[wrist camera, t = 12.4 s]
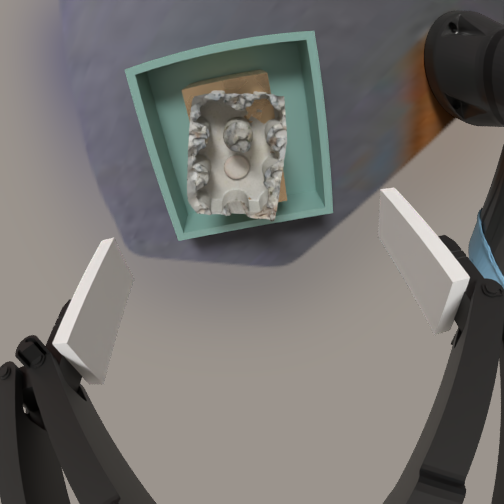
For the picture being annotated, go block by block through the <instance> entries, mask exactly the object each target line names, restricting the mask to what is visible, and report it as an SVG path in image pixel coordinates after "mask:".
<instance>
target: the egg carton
mask: <svg viewBox="0 0 504 504" xmlns="http://www.w3.org/2000/svg"><path fill="white" fill-rule="evenodd" d="M261 98H262V99H267V100H269V101H270V103H271V104H272V106H273V108H274V114H275V118H274V119H271V120H268V121H267V122H266V123H265V124H264V123H261V121H259V120H257V119H256V118H255V117H252V116H251V117H250V118H249V120H247V119H246V118H245V117H244V116H245V115H247V114H248V111H246V109H245V108H246V107H248V106H249V107H250V106H251V105H252V104H253V102H254V100H259V99H261ZM257 112H262V111H261V110H259V109H258V110H257ZM249 121H253V122H252V123H250V122H249ZM286 145H287V127H286V114H285V99H284V96H277V95H274V94H267V93H266V92H257V91H255V92H253V94H249V93H244V94H235V93H233V94H225V91H222V90H214V91H212V92H211V93H209V94H203V95H198V96H194V98H193V100H192V105H191V112H190V127H189V143H188V166H187V171H188V173H187V196H188V202H189V204H190V205H191V207H192V208H193V209H194V210H195V212H196V213H198V214H206V215H212V214H222V215H225V216H230V215H231V214H232V213H235V214H246V215H247V216H248V217H250V218H255V219H269V220H270V221H272V222H273V221H274V220H275V216H276V212H277V205H278V200H279V194H280V183H281V177H282V172H283V167H284V158H285V152H286ZM271 151H272V152H274V153H272V152H271ZM270 152H271V153H270ZM211 195H212V196H211ZM249 197H250V198H251V199H252V200H249V199H248V198H249Z"/></svg>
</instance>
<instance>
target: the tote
mask: <svg viewBox="0 0 504 504" xmlns="http://www.w3.org/2000/svg"><path fill="white" fill-rule="evenodd" d="M259 69H261V70H263V71H265V72H267V73H268V79H269V85H270V90H271V94H274V95H277V96H284V99H285V114H286V127H287V145H286V152H285V158H284V167H283V172H284V179H285V186H286V194H287V201H282V202H278V205H277V212H276V216H275V220H274V221H273V222H272V221H270V220H269V219H255V218H250V217H248V216H247V215H246V214H235V213H232V214H231V215H230V216H225V215H222V214H212V215H206V214H198V213H196V212H195V210H194V209H193V208H192V207H191V205H190V204H189V202H188V196H187V173H188V171H187V166H188V143H189V127H190V122H189V118H188V114H187V110H186V106H185V102H184V98H183V94H182V89H184V88H185V87H186V86H188V85H189V84H190V83H194V82H198V81H202V80H206V79H211V78H216V77H220V76H225V75H230V74H235V73H241V72H247V71H253V70H259ZM125 73H126V76H127V80H128V84H129V88H130V91H131V95H132V98H133V102H134V106H135V109H136V112H137V116H138V119H139V123H140V126H141V129H142V133H143V136H144V139H145V143H146V146H147V149H148V152H149V155H150V159H151V162H152V165H153V168H154V171H155V174H156V177H157V180H158V183H159V186H160V189H161V192H162V195H163V198H164V201H165V204H166V207H167V210H168V212H169V215H170V218H171V221H172V224H173V226H174V229H175V232H176V235H177V238H178V240H179V241H181V240H186V239H191V238H196V237H201V236H207V235H212V234H217V233H222V232H228V231H233V230H239V229H244V228H249V227H255V226H261V225H266V224H272V223H277V222H283V221H289V220H294V219H300V218H306V217H312V216H318V215H324V214H330V213H333V204H332V186H331V170H330V157H329V145H328V134H327V123H326V114H325V105H324V96H323V88H322V80H321V73H320V65H319V58H318V52H317V45H316V39H315V33H314V31H304V32H292V33H282V34H273V35H266V36H258V37H252V38H245V39H239V40H234V41H228V42H223V43H218V44H213V45H209V46H204V47H200V48H196V49H192V50H188V51H184V52H180V53H176V54H173V55H169V56H165V57H162V58H159V59H155V60H152V61H149V62H146V63H143V64H140V65H137V66H134V67H131V68H128V69H125Z"/></svg>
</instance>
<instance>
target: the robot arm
mask: <svg viewBox="0 0 504 504" xmlns="http://www.w3.org/2000/svg"><path fill="white" fill-rule="evenodd" d="M424 59H425V69H426V74H427V78H428V81H429V84H430V87H431V89H432V92H433V94H434V95H435V97H436V99H437V100H438V102H439V103H440V104H441V106H442V107H443V108H444V109H445V110H446V111H447V112H448V113H449V114H451V115H452V116H454V117H455V118H458V119H460V120H462V121H464V122H466V123H468V124H471V125H476V126H495V127H496V126H497V127H504V25H502V24H500V23H498V22H496V21H494V20H492V19H490V18H488V17H486V16H484V15H482V14H480V13H477V12H472V11H451V12H448V13H446V14H444V15H442V16H441V17H439V18H438V19H437V20H436V21H435V22H434V24H433V25H432V27H431V29H430V31H429V33H428V36H427V39H426V44H425V53H424ZM378 238H379V239H380V241H381V242H382V244H383V246H384V247H385V248H386V250H387V252H388V254H389V255H390V257H391V259H392V260H393V262H394V263H395V265H396V267H397V269H398V270H399V272H400V274H401V275H402V277H403V279H404V280H405V282H406V284H407V286H408V287H409V289H410V291H411V293H412V294H413V296H414V298H415V299H416V301H417V303H418V305H419V307H420V309H421V311H422V313H423V314H424V316H425V318H426V320H427V322H428V324H429V326H430V328H431V330H432V332H433V334H434V335H436V334H439V333H443V332H446V331H449V330H450V329H451V326H452V324H453V322H454V320H455V322H456V323H457V325H458V330H457V332H456V334H455V336H454V338H453V340H452V343H451V344H452V345H453V346H452V350H451V354H450V357H449V360H448V364H447V367H446V370H445V373H444V376H443V380H442V382H441V386H440V388H439V391H438V394H437V396H436V399H435V402H434V404H433V407H432V410H431V412H430V415H429V417H428V420H427V422H426V424H425V427H424V429H423V431H422V434H421V436H420V438H419V441H418V443H417V445H416V447H415V449H414V451H413V453H412V455H411V458H410V460H409V462H408V464H407V465H406V468H405V470H404V471H403V473H402V475H401V477H400V479H399V481H398V482H397V484H396V486H395V487H394V489H393V490H392V492H391V493H390V494H389V496H388V497H387V498H386V500H385V501H384V503H383V504H462V503H463V501H464V498H465V494H466V488H465V485H464V484H465V479H466V476H467V474H468V471H469V469H470V466H471V463H472V461H473V458H474V455H475V452H476V449H477V447H478V443H479V440H480V437H481V434H482V431H483V427H484V424H485V420H486V417H487V413H488V409H489V405H490V401H491V397H492V392H493V388H494V383H495V378H496V373H497V367H498V361H500V377H501V427H500V444H499V455H498V464H497V473H496V480H495V486H494V492H493V497H492V504H504V145H503V149H502V153H501V156H500V159H499V162H498V166H497V169H496V172H495V175H494V178H493V181H492V184H491V187H490V190H489V193H488V195H487V198H486V201H485V203H484V206H483V208H481V210H479V212H478V215H477V223H476V226H475V228H474V231H473V234H472V236H471V239H470V243H469V258H468V257H466V254H465V253H464V252H463V251H461V248H460V247H459V246H458V245H457V244H456V242H455V241H453V240H452V239H450V238H449V237H447V236H446V235H443V236H437V235H436V234H435V232H434V231H433V230H432V229H431V228H430V226H429V225H428V224H427V223H426V222H425V221H424V220H423V219H422V217H421V216H420V215H419V214H418V213H417V212H416V210H415V209H414V208H413V207H412V206H411V205H410V204H409V203H408V202H407V201H406V200H405V199H404V197H403V196H402V195H401V194H400V193H399V192H398V191H397V190H396V189H395V188H388V189H380V211H379V230H378ZM133 282H134V277H133V275H132V273H131V271H130V269H129V267H128V266H127V263H126V261H125V259H124V257H123V255H122V253H121V251H120V249H119V247H118V245H117V242H116V240H115V238H110V239H106V240H102V241H101V243H100V245H99V246H98V248H97V250H96V252H95V254H94V256H93V258H92V260H91V261H90V263H89V265H88V267H87V269H86V271H85V273H84V275H83V277H82V279H81V281H80V283H79V285H78V287H77V290H76V291H75V293H74V296H73V298H72V299H71V300H69V301H68V302H67V303H66V304H65V305H64V307H63V308H62V310H61V312H60V314H59V318H58V319H57V321H56V323H55V326H54V327H53V330H52V332H51V334H50V337H49V339H48V341H47V344H46V346H45V345H44V344H43V343H42V342H41V341H40V340H39V339H38V337H37V336H34V335H31V336H28V337H26V338H25V339H24V340H22V341H21V342H20V344H19V345H18V347H17V349H16V355H15V356H16V358H18V359H19V361H20V362H21V363H22V364H23V365H24V366H23V367H20V368H18V367H17V366H16V365H15V364H14V363H13V362H10V361H9V362H6V363H5V364H3V365H2V366H1V367H0V497H1V503H2V504H70V500H69V497H68V493H67V489H66V485H65V481H64V477H63V472H62V469H63V471H64V473H65V475H66V477H67V480H68V482H69V484H70V486H71V488H72V490H73V492H74V493H75V496H76V498H77V499H78V501H79V503H80V504H156V502H155V501H154V500H153V499H152V497H151V496H150V495H149V493H148V492H147V491H146V489H145V488H144V487H143V485H142V484H141V482H140V481H139V480H138V478H137V477H136V475H135V474H134V472H133V471H132V470H131V468H130V467H129V465H128V464H127V462H126V461H125V459H124V458H123V456H122V454H121V453H120V451H119V450H118V448H117V447H116V445H115V443H114V442H113V440H112V438H111V437H110V435H109V433H108V432H107V430H106V428H105V426H104V425H103V423H102V421H101V419H100V417H99V416H98V414H97V412H96V410H95V408H94V406H93V404H92V402H91V401H90V399H89V397H88V395H87V393H86V391H85V389H84V387H83V386H82V385H81V384H80V381H81V378H82V377H83V378H84V379H85V380H86V381H87V382H88V383H89V384H104V381H105V377H106V373H107V369H108V365H109V361H110V358H111V354H112V351H113V347H114V343H115V340H116V336H117V333H118V329H119V326H120V322H121V319H122V316H123V313H124V309H125V306H126V303H127V300H128V297H129V294H130V291H131V288H132V285H133ZM23 407H25V408H26V413H24V410H23ZM61 467H62V468H61Z"/></svg>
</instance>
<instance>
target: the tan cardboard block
mask: <svg viewBox="0 0 504 504" xmlns="http://www.w3.org/2000/svg"><path fill="white" fill-rule="evenodd" d="M214 90H222V91H225V94H233V93H235V94H244V93H249V94H253V92H255V91H257V92H266V93H267V94H271V90H270V85H269V79H268V73H267V72H265V71H263V70H261V69H259V70H253V71H247V72H241V73H235V74H230V75H225V76H220V77H216V78H211V79H206V80H202V81H198V82H194V83H190V84H189V85H188V86H186V87H185V88H184V89H182V94H183V98H184V102H185V106H186V110H187V114H188V118H189V122H190V112H191V105H192V100H193V98H194V96H198V95H203V94H209V93H211V92H212V91H214ZM245 109H246V111H248V114H247V115H245V116H244V117H245V118H246V119H247V120H249V118H250V117H251V116H252V117H255V118H256V119H257V120H259V121H261V123H264V124H265V123H266V122H267V121H268V120H271V119H274V118H275V114H274V108H273V106H272V104H271V103H270V101H269V100H267V99H262V98H261V99H259V100H254V102H253V104H252V105H251V106H250V107H249V106H248V107H246V108H245ZM258 109H259V110H261V111H262V112H257V110H258ZM249 122H250V123H252V122H253V121H249ZM271 152H272V151H271ZM271 152H270V153H271ZM272 153H274V152H272ZM211 196H212V195H211ZM248 199H249V200H252V199H251V198H250V197H249V198H248ZM282 201H287V194H286V186H285V179H284V172H282V177H281V183H280V194H279V200H278V202H282Z"/></svg>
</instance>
